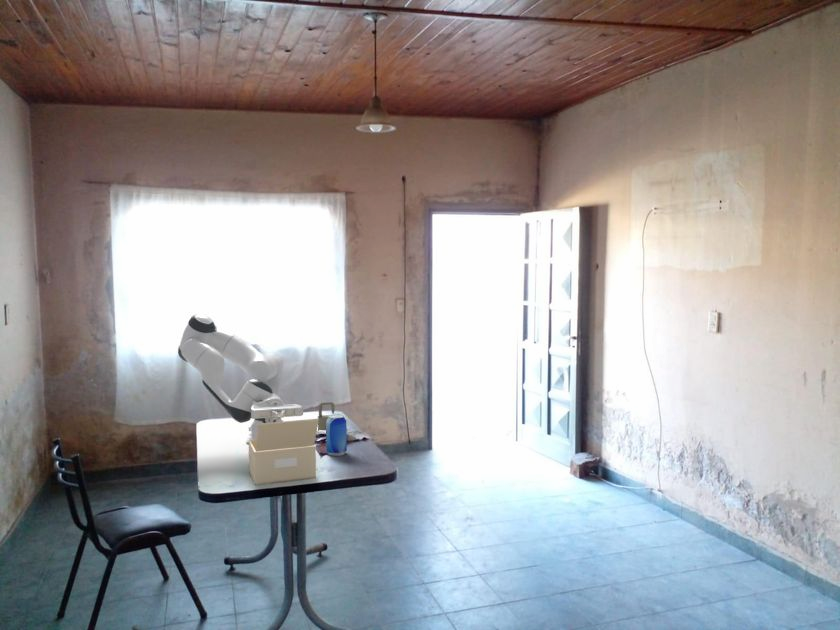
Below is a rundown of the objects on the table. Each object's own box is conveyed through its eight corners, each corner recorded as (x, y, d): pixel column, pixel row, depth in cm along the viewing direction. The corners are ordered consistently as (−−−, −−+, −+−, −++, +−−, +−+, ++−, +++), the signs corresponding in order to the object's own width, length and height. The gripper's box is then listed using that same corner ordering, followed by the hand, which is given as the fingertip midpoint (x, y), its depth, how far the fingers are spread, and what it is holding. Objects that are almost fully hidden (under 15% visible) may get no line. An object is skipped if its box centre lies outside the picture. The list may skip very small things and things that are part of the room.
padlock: (336, 433, 311) (335, 402, 310) (318, 434, 309) (318, 403, 308) (335, 431, 315) (334, 400, 314) (317, 432, 313) (317, 401, 312)
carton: (249, 470, 255) (248, 440, 254) (306, 464, 262) (305, 434, 262) (255, 485, 238) (254, 452, 237) (316, 478, 246) (315, 446, 245)
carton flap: (258, 423, 229) (258, 424, 229) (318, 418, 237) (318, 419, 236) (255, 449, 238) (255, 450, 237) (313, 443, 245) (314, 445, 245)
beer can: (332, 457, 272) (332, 419, 271) (322, 453, 279) (322, 415, 278) (350, 454, 277) (350, 416, 276) (340, 449, 284) (340, 412, 283)
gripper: (299, 414, 272) (306, 422, 259) (248, 417, 265) (253, 425, 252) (299, 399, 272) (307, 406, 259) (248, 401, 264) (253, 409, 251)
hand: (280, 415), depth 255 cm, fingers closed
